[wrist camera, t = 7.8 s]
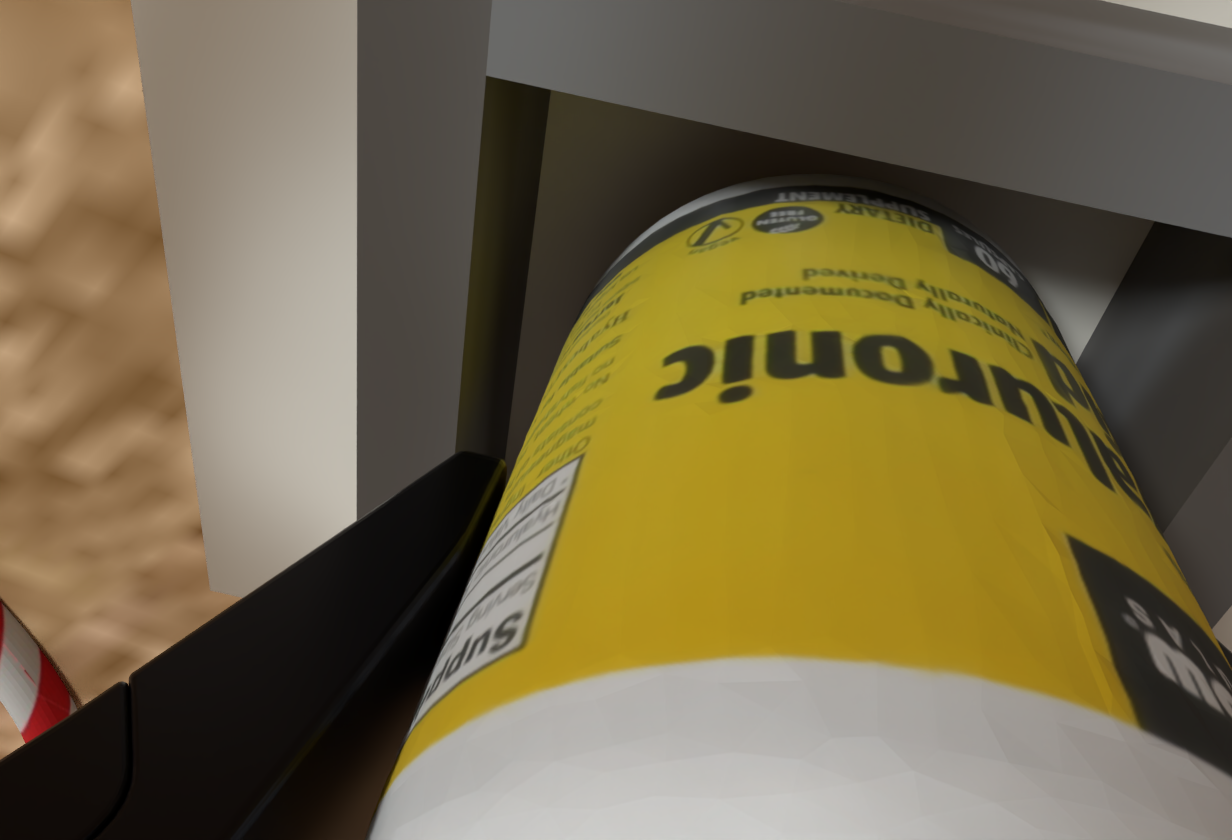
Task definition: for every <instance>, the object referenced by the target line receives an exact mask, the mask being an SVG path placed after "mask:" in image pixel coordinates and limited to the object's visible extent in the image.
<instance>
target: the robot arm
mask: <svg viewBox="0 0 1232 840" xmlns="http://www.w3.org/2000/svg"><path fill="white" fill-rule="evenodd" d="M506 476H507V466H506V463H505V461H504V460H503V459H501V458H498V457H493V456H489V455H485V454H480V453H476V452H472V451H464V450H463V451H460V452H457V453H455V454H454V455H452V456H451V457H449V458H448V459H446V460H445V461H443V462H442V463H440V464H439V465H438V466H436V467H435V468H433V469H432V470H430V471H429V472H427V473H426V474H424V475H423V476H421V477H420V478H418V479H417V480H415V481H414V482H413V483H411V484H410V485H408V486H407V487H405V488H404V489H402V490H401V491H399V492H398V493H396V494H395V495H393V496H392V497H390V498H389V499H388V500H386V501H385V502H383V503H382V504H380V505H379V506H377V507H376V508H374V509H373V510H371V511H370V512H368V513H367V514H365V515H364V516H363V517H361V518H360V519H358V520H357V521H355V522H354V523H352V524H351V525H349V526H348V527H346V528H345V529H343V530H342V531H340V532H339V533H338V534H336V535H335V536H333V537H332V538H330V539H329V540H327V541H326V542H324V543H323V544H321V545H320V546H318V547H317V548H315V549H314V550H313V551H311V552H310V553H308V554H307V555H305V556H304V557H302V558H301V559H299V560H298V561H296V562H295V563H293V564H292V565H290V566H289V567H288V568H286V569H285V570H283V571H282V572H280V573H279V574H277V575H276V576H274V577H273V578H271V579H270V580H268V581H267V582H265V583H264V584H263V585H261V586H260V587H258V588H257V589H255V590H254V591H252V592H251V593H249V594H248V595H246V596H245V597H243V598H242V599H240V600H239V601H238V602H236V603H235V604H233V605H232V606H230V607H229V608H227V609H226V610H224V611H223V612H221V613H220V614H218V615H217V616H215V617H214V618H213V619H211V620H210V621H208V622H207V623H205V624H204V625H202V626H201V627H199V628H198V629H196V630H195V631H193V632H192V633H190V634H189V635H188V636H186V637H185V638H183V639H182V640H180V641H179V642H177V643H176V644H174V645H173V646H171V647H170V648H168V649H167V650H165V651H164V652H163V653H161V654H160V655H158V656H157V657H155V658H154V659H152V660H151V661H149V662H148V663H146V664H145V665H143V666H142V667H140V668H139V669H138V670H136V671H135V672H133V673H132V674H131V675H130V677H129V686H128V684H127V683H125V682H118V683H116V684H115V685H113V686H112V687H110V688H109V689H107V690H106V691H104V692H103V693H101V694H100V695H99V696H97V697H96V698H94V699H93V700H91V701H90V702H88V703H87V704H85V705H84V706H82V707H81V708H79V709H78V710H76V711H75V712H74V713H72V714H71V715H69V716H67V717H66V718H64V719H63V720H61V721H60V722H58V723H57V724H55V725H54V726H52V727H51V728H49V729H47V730H46V731H44V732H43V733H41V734H40V735H38V736H37V737H35V738H34V739H32V740H30V741H29V742H27V743H26V744H24V745H23V746H21V747H20V748H18V749H17V750H15V751H13V752H12V753H10V754H9V755H7V756H6V757H4V758H3V759H1V760H0V840H365V838H366V835H367V831H368V828H369V825H370V821H371V818H372V815H373V813H374V810H375V808H376V805H377V803H378V800H379V797H380V795H381V792H382V790H383V787H384V785H385V782H386V779H387V777H388V775H389V773H390V771H391V769H392V767H393V765H394V762H395V759H396V755H397V752H398V750H399V748H400V745H401V743H402V741H403V738H404V736H405V734H406V732H407V730H408V728H409V726H410V723H411V720H412V718H413V715H414V712H415V710H416V707H417V704H418V702H419V699H420V697H421V694H422V692H423V689H424V686H425V684H426V681H427V679H428V677H429V675H430V673H431V671H432V669H433V667H434V665H435V662H436V659H437V657H438V654H439V651H440V649H441V646H442V644H443V641H444V638H445V636H446V633H447V631H448V628H449V625H450V623H451V620H452V618H453V615H454V612H455V610H456V608H457V606H458V604H459V602H460V600H461V597H462V594H463V592H464V589H465V586H466V583H467V581H468V578H469V576H470V573H471V571H472V569H473V566H474V564H475V561H476V559H477V556H478V554H479V552H480V549H481V547H482V544H483V542H484V539H485V537H486V534H487V532H488V530H489V527H490V525H491V522H492V520H493V517H494V515H495V512H496V510H497V507H498V504H499V502H500V500H501V497H502V495H503V493H504V490H505V484H506ZM1216 640H1217V639H1216ZM1217 642H1218V644H1219V646H1220V648H1221V650H1222V651H1223V653H1224V655H1225V657H1226V659H1227V661H1228V663H1229V665H1230V667H1231V669H1232V652H1231V651H1230V650H1229V649H1227V648H1226V647H1225V646H1224V645H1223V644H1222V643H1221V642H1220V641H1219V640H1217Z"/></svg>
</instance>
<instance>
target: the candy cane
mask: <svg viewBox="0 0 1232 840" xmlns="http://www.w3.org/2000/svg"><path fill="white" fill-rule="evenodd" d="M0 701H1V702H2V704H3V705H4V706H5V708H6V709H7V711H8V712H9V714H10V715H11V717H12V718H13V720H14V722H15V724H16V725H17V727H18V729H19V731H20V732H21V735H22V737H23V739H24V741H25V743H27V742H29V741H30V740H32V739H34V738H35V737H37V736H38V735H40V734H41V733H43V732H44V731H46V730H47V729H49V728H51V727H52V726H54V725H55V724H57V723H58V722H60V721H61V720H63V719H64V718H66V717H67V716H69V715H71V714H72V713H74V712H75V711H76V710H77V708H76V706H75V704H74V701H73V699H72V698H71V696H70V694H69V692H68V691H67V689H66V687H65V685H64V684H63V682H62V680H61V679H60V677H59V676H58V674H57V673H56V671H55V670H54V668H53V667H52V665H51V664H50V662H49V661H48V659H47V658H46V657H45V655H44V654H43V653H42V651H41V650H40V648H39V647H38V646H37V644H36V643H35V642H34V641H33V639H32V638H31V637H30V636H29V634H28V633H27V632H26V631H25V629H24V628H23V627H22V626H21V625H20V623H19V622H18V621H17V620H16V619H15V618H14V616H13V615H12V614H11V613H10V612H9V611H8V609H7V608H6V607H5V606H4V605H3V604H2V603H1V602H0Z"/></svg>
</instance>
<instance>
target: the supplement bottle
mask: <svg viewBox="0 0 1232 840" xmlns="http://www.w3.org/2000/svg"><path fill="white" fill-rule="evenodd" d="M365 840H1232V669H1231V667H1230V665H1229V663H1228V661H1227V659H1226V657H1225V655H1224V653H1223V651H1222V650H1221V648H1220V646H1219V644H1218V642H1217V640H1216V638H1215V636H1214V634H1213V632H1212V630H1211V627H1210V625H1209V623H1208V621H1207V619H1206V617H1205V616H1204V614H1203V612H1202V610H1201V608H1200V606H1199V604H1198V602H1197V601H1196V599H1195V597H1194V595H1193V593H1192V591H1191V589H1190V587H1189V585H1188V583H1187V581H1186V579H1185V577H1184V575H1183V573H1182V572H1181V570H1180V568H1179V566H1178V564H1177V562H1176V560H1175V558H1174V556H1173V554H1172V552H1171V550H1170V548H1169V546H1168V544H1167V542H1166V540H1165V538H1164V536H1163V533H1162V531H1161V529H1160V527H1159V525H1158V523H1157V521H1156V519H1155V518H1154V516H1153V514H1152V512H1151V510H1150V508H1149V506H1148V504H1147V502H1146V500H1145V498H1144V495H1143V493H1142V490H1141V488H1140V487H1139V485H1138V483H1137V482H1136V480H1135V478H1134V476H1133V475H1132V473H1131V471H1130V470H1129V468H1128V466H1127V464H1126V462H1125V460H1124V458H1123V455H1122V453H1121V451H1120V449H1119V447H1118V445H1117V442H1116V440H1115V438H1114V436H1113V434H1112V432H1111V430H1110V428H1109V426H1108V424H1107V422H1106V421H1105V419H1104V417H1103V415H1102V413H1101V411H1100V409H1099V407H1098V405H1097V404H1096V402H1095V400H1094V398H1093V396H1092V394H1091V392H1090V390H1089V389H1088V387H1087V385H1086V383H1085V381H1084V379H1083V377H1082V375H1081V373H1080V371H1079V370H1078V368H1077V366H1076V364H1075V362H1074V360H1073V358H1072V356H1071V353H1070V351H1069V349H1068V347H1067V345H1066V343H1065V341H1064V339H1063V337H1062V334H1061V332H1060V330H1059V328H1058V326H1057V324H1056V323H1055V321H1054V320H1053V318H1052V317H1051V315H1050V314H1049V312H1048V311H1047V309H1046V307H1045V306H1044V304H1043V302H1042V301H1041V299H1040V298H1039V296H1038V295H1037V293H1036V291H1035V290H1034V288H1033V287H1032V285H1031V284H1030V282H1029V281H1028V279H1027V278H1026V277H1025V275H1024V274H1023V273H1022V271H1021V270H1020V269H1019V267H1018V266H1017V265H1016V263H1015V262H1014V261H1013V260H1012V259H1011V258H1010V257H1009V255H1008V254H1007V253H1006V252H1005V251H1004V250H1003V249H1002V248H1001V247H1000V246H999V245H998V244H997V243H996V242H995V241H994V240H993V239H992V238H991V237H989V236H988V235H987V234H985V233H984V232H983V231H982V230H980V229H979V228H978V227H976V226H975V225H974V224H972V223H971V222H970V221H969V220H967V219H966V218H965V217H963V216H961V215H960V214H958V213H956V212H955V211H953V210H951V209H949V208H948V207H946V206H944V205H942V204H940V203H939V202H937V201H935V200H933V199H930V198H928V197H925V196H923V195H920V194H918V193H915V192H913V191H910V190H907V189H905V188H902V187H899V186H896V185H893V184H889V183H885V182H881V181H876V180H872V179H867V178H863V177H854V176H844V175H833V174H792V175H783V176H774V177H766V178H761V179H757V180H752V181H747V182H742V183H738V184H735V185H732V186H729V187H725V188H723V189H720V190H717V191H715V192H712V193H709V194H707V195H704V196H702V197H700V198H698V199H696V200H694V201H692V202H690V203H688V204H685V205H683V206H682V207H680V208H678V209H677V210H675V211H673V212H672V213H670V214H668V215H667V216H665V217H663V218H662V219H660V220H659V221H658V222H656V223H655V224H654V225H653V226H651V227H650V228H649V229H647V230H646V231H645V232H644V233H642V234H641V235H640V236H639V237H638V238H637V239H635V240H634V241H633V242H632V243H631V244H630V245H629V246H628V247H627V248H626V249H625V250H624V251H623V252H622V253H621V254H620V255H619V256H618V257H617V258H616V259H615V260H614V262H613V263H612V264H611V265H610V266H609V268H608V269H607V270H606V271H605V273H604V274H603V275H602V277H601V278H600V279H599V280H598V282H597V284H596V285H595V287H594V289H593V290H592V292H591V293H590V294H589V296H588V298H587V299H586V301H585V303H584V305H583V306H582V308H581V310H580V312H579V314H578V316H577V318H576V320H575V322H574V324H573V326H572V328H571V331H570V333H569V336H568V338H567V340H566V342H565V344H564V346H563V348H562V351H561V353H560V356H559V358H558V361H557V363H556V366H555V368H554V371H553V373H552V376H551V378H550V380H549V383H548V385H547V388H546V390H545V393H544V395H543V398H542V400H541V403H540V405H539V408H538V410H537V413H536V415H535V418H534V420H533V422H532V424H531V427H530V429H529V431H528V433H527V435H526V438H525V441H524V445H523V447H522V449H521V451H520V453H519V456H518V458H517V460H516V463H515V466H514V469H513V472H512V474H511V476H510V478H509V481H508V483H507V485H506V488H505V490H504V493H503V495H502V497H501V500H500V502H499V504H498V507H497V510H496V512H495V515H494V517H493V520H492V522H491V525H490V527H489V530H488V532H487V534H486V537H485V539H484V542H483V544H482V547H481V549H480V552H479V554H478V556H477V559H476V561H475V564H474V566H473V569H472V571H471V573H470V576H469V578H468V581H467V583H466V586H465V589H464V592H463V594H462V597H461V600H460V602H459V604H458V606H457V608H456V610H455V612H454V615H453V618H452V620H451V623H450V625H449V628H448V631H447V633H446V636H445V638H444V641H443V644H442V646H441V649H440V651H439V654H438V657H437V659H436V662H435V665H434V667H433V669H432V671H431V673H430V675H429V677H428V679H427V681H426V684H425V686H424V689H423V692H422V694H421V697H420V699H419V702H418V704H417V707H416V710H415V712H414V715H413V718H412V720H411V723H410V726H409V728H408V730H407V732H406V734H405V736H404V738H403V741H402V743H401V745H400V748H399V750H398V752H397V755H396V759H395V762H394V765H393V767H392V769H391V771H390V773H389V775H388V777H387V779H386V782H385V785H384V787H383V790H382V792H381V795H380V797H379V800H378V803H377V805H376V808H375V810H374V813H373V815H372V818H371V821H370V825H369V828H368V831H367V835H366V838H365Z"/></svg>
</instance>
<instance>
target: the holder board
mask: <svg viewBox="0 0 1232 840" xmlns="http://www.w3.org/2000/svg"><path fill="white" fill-rule="evenodd" d="M131 5H132V13H133V20H134V27H135V35H136V42H137V50H138V57H139V64H140V72H141V79H142V87H143V94H144V102H145V109H146V116H147V124H148V131H149V139H150V146H151V154H152V161H153V168H154V176H155V183H156V191H157V198H158V205H159V213H160V220H161V228H162V235H163V243H164V250H165V257H166V265H167V272H168V280H169V287H170V295H171V302H172V309H173V317H174V324H175V332H176V339H177V346H178V354H179V361H180V369H181V376H182V384H183V391H184V398H185V406H186V413H187V421H188V428H189V436H190V443H191V450H192V458H193V465H194V473H195V480H196V487H197V495H198V502H199V510H200V517H201V525H202V532H203V539H204V547H205V554H206V562H207V569H208V577H209V584H210V590H211V591H215V592H220V593H224V594H228V595H233V596H237V597H241V598H243V597H245V596H246V595H248V594H249V593H251V592H252V591H254V590H255V589H257V588H258V587H260V586H261V585H263V584H264V583H265V582H267V581H268V580H270V579H271V578H273V577H274V576H276V575H277V574H279V573H280V572H282V571H283V570H285V569H286V568H288V567H289V566H290V565H292V564H293V563H295V562H296V561H298V560H299V559H301V558H302V557H304V556H305V555H307V554H308V553H310V552H311V551H313V550H314V549H315V548H317V547H318V546H320V545H321V544H323V543H324V542H326V541H327V540H329V539H330V538H332V537H333V536H335V535H336V534H338V533H339V532H340V531H342V530H343V529H345V528H346V527H348V526H349V525H351V524H352V523H354V522H355V521H357V520H358V519H360V518H361V517H363V516H364V515H365V514H367V513H368V512H370V511H371V510H373V509H374V508H376V507H377V506H379V505H380V504H382V503H383V502H385V501H386V500H388V499H389V498H390V497H392V496H393V495H395V494H396V493H398V492H399V491H401V490H402V489H404V488H405V487H407V486H408V485H410V484H411V483H413V482H414V481H415V480H417V479H418V478H420V477H421V476H423V475H424V474H426V473H427V472H429V471H430V470H432V469H433V468H435V467H436V466H438V465H439V464H440V463H442V462H443V461H445V460H446V459H448V458H449V457H451V456H452V455H454V454H455V453H457V452H460V451H463V450H464V451H472V452H476V453H480V454H485V455H489V456H493V457H498V458H501V459H503V460H504V461H505V463H506V466H507V476H506V484H505V488H506V485H507V483H508V481H509V478H510V476H511V474H512V472H513V469H514V466H515V463H516V460H517V458H518V456H519V453H520V451H521V449H522V447H523V445H524V441H525V438H526V435H527V433H528V431H529V429H530V427H531V424H532V422H533V420H534V418H535V415H536V413H537V410H538V408H539V405H540V403H541V400H542V398H543V395H544V393H545V390H546V388H547V385H548V383H549V380H550V378H551V376H552V373H553V371H554V368H555V366H556V363H557V361H558V358H559V356H560V353H561V351H562V348H563V346H564V344H565V342H566V340H567V338H568V336H569V333H570V331H571V328H572V326H573V324H574V322H575V320H576V318H577V316H578V314H579V312H580V310H581V308H582V306H583V305H584V303H585V301H586V299H587V298H588V296H589V294H590V293H591V292H592V290H593V289H594V287H595V285H596V284H597V282H598V280H599V279H600V278H601V277H602V275H603V274H604V273H605V271H606V270H607V269H608V268H609V266H610V265H611V264H612V263H613V262H614V260H615V259H616V258H617V257H618V256H619V255H620V254H621V253H622V252H623V251H624V250H625V249H626V248H627V247H628V246H629V245H630V244H631V243H632V242H633V241H634V240H635V239H637V238H638V237H639V236H640V235H641V234H642V233H644V232H645V231H646V230H647V229H649V228H650V227H651V226H653V225H654V224H655V223H656V222H658V221H659V220H660V219H662V218H663V217H665V216H667V215H668V214H670V213H672V212H673V211H675V210H677V209H678V208H680V207H682V206H683V205H685V204H688V203H690V202H692V201H694V200H696V199H698V198H700V197H702V196H704V195H707V194H709V193H712V192H715V191H717V190H720V189H723V188H725V187H729V186H732V185H735V184H738V183H742V182H747V181H752V180H757V179H761V178H766V177H774V176H783V175H792V174H833V175H844V176H854V177H863V178H867V179H872V180H876V181H881V182H885V183H889V184H893V185H896V186H899V187H902V188H905V189H907V190H910V191H913V192H915V193H918V194H920V195H923V196H925V197H928V198H930V199H933V200H935V201H937V202H939V203H940V204H942V205H944V206H946V207H948V208H949V209H951V210H953V211H955V212H956V213H958V214H960V215H961V216H963V217H965V218H966V219H967V220H969V221H970V222H971V223H972V224H974V225H975V226H976V227H978V228H979V229H980V230H982V231H983V232H984V233H985V234H987V235H988V236H989V237H991V238H992V239H993V240H994V241H995V242H996V243H997V244H998V245H999V246H1000V247H1001V248H1002V249H1003V250H1004V251H1005V252H1006V253H1007V254H1008V255H1009V257H1010V258H1011V259H1012V260H1013V261H1014V262H1015V263H1016V265H1017V266H1018V267H1019V269H1020V270H1021V271H1022V273H1023V274H1024V275H1025V277H1026V278H1027V279H1028V281H1029V282H1030V284H1031V285H1032V287H1033V288H1034V290H1035V291H1036V293H1037V295H1038V296H1039V298H1040V299H1041V301H1042V302H1043V304H1044V306H1045V307H1046V309H1047V311H1048V312H1049V314H1050V315H1051V317H1052V318H1053V320H1054V321H1055V323H1056V324H1057V326H1058V328H1059V330H1060V332H1061V334H1062V337H1063V339H1064V341H1065V343H1066V345H1067V347H1068V349H1069V351H1070V353H1071V356H1072V358H1073V360H1074V362H1075V364H1076V366H1077V368H1078V370H1079V371H1080V373H1081V375H1082V377H1083V379H1084V381H1085V383H1086V385H1087V387H1088V389H1089V390H1090V392H1091V394H1092V396H1093V398H1094V400H1095V402H1096V404H1097V405H1098V407H1099V409H1100V411H1101V413H1102V415H1103V417H1104V419H1105V421H1106V422H1107V424H1108V426H1109V428H1110V430H1111V432H1112V434H1113V436H1114V438H1115V440H1116V442H1117V445H1118V447H1119V449H1120V451H1121V453H1122V455H1123V458H1124V460H1125V462H1126V464H1127V466H1128V468H1129V470H1130V471H1131V473H1132V475H1133V476H1134V478H1135V480H1136V482H1137V483H1138V485H1139V487H1140V488H1141V490H1142V493H1143V495H1144V498H1145V500H1146V502H1147V504H1148V506H1149V508H1150V510H1151V512H1152V514H1153V516H1154V518H1155V519H1156V521H1157V523H1158V525H1159V527H1160V529H1161V531H1162V533H1163V536H1164V538H1165V540H1166V542H1167V544H1168V546H1169V548H1170V550H1171V552H1172V554H1173V556H1174V558H1175V560H1176V562H1177V564H1178V566H1179V568H1180V570H1181V572H1182V573H1183V575H1184V577H1185V579H1186V581H1187V583H1188V585H1189V587H1190V589H1191V591H1192V593H1193V595H1194V597H1195V599H1196V601H1197V602H1198V604H1199V606H1200V608H1201V610H1202V612H1203V614H1204V616H1205V617H1206V619H1207V621H1208V623H1209V625H1210V627H1211V630H1212V632H1213V634H1214V636H1215V638H1216V639H1217V640H1219V641H1220V642H1221V643H1222V644H1223V645H1224V646H1225V647H1226V648H1227V649H1229V650H1230V651H1231V652H1232V0H131Z"/></svg>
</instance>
